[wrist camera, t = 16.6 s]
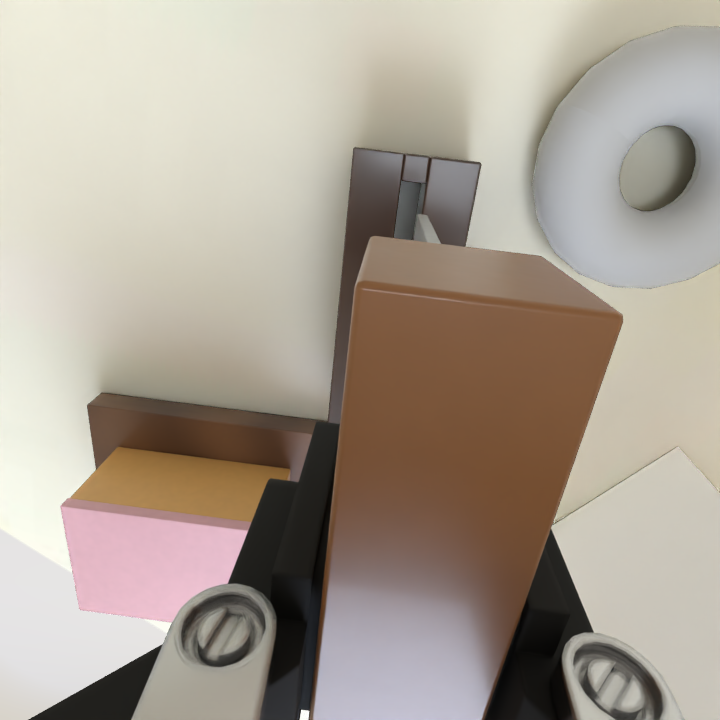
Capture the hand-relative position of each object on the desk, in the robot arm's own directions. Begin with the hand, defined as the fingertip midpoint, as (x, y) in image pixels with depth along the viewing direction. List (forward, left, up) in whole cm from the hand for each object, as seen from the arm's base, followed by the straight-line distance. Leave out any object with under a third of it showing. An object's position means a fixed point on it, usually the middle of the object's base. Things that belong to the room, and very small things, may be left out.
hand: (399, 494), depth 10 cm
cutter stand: (0, 0, -16) cm, 16 cm away
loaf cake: (-10, -14, -14) cm, 22 cm away
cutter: (0, 0, -6) cm, 6 cm away
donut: (+10, +7, -16) cm, 20 cm away
